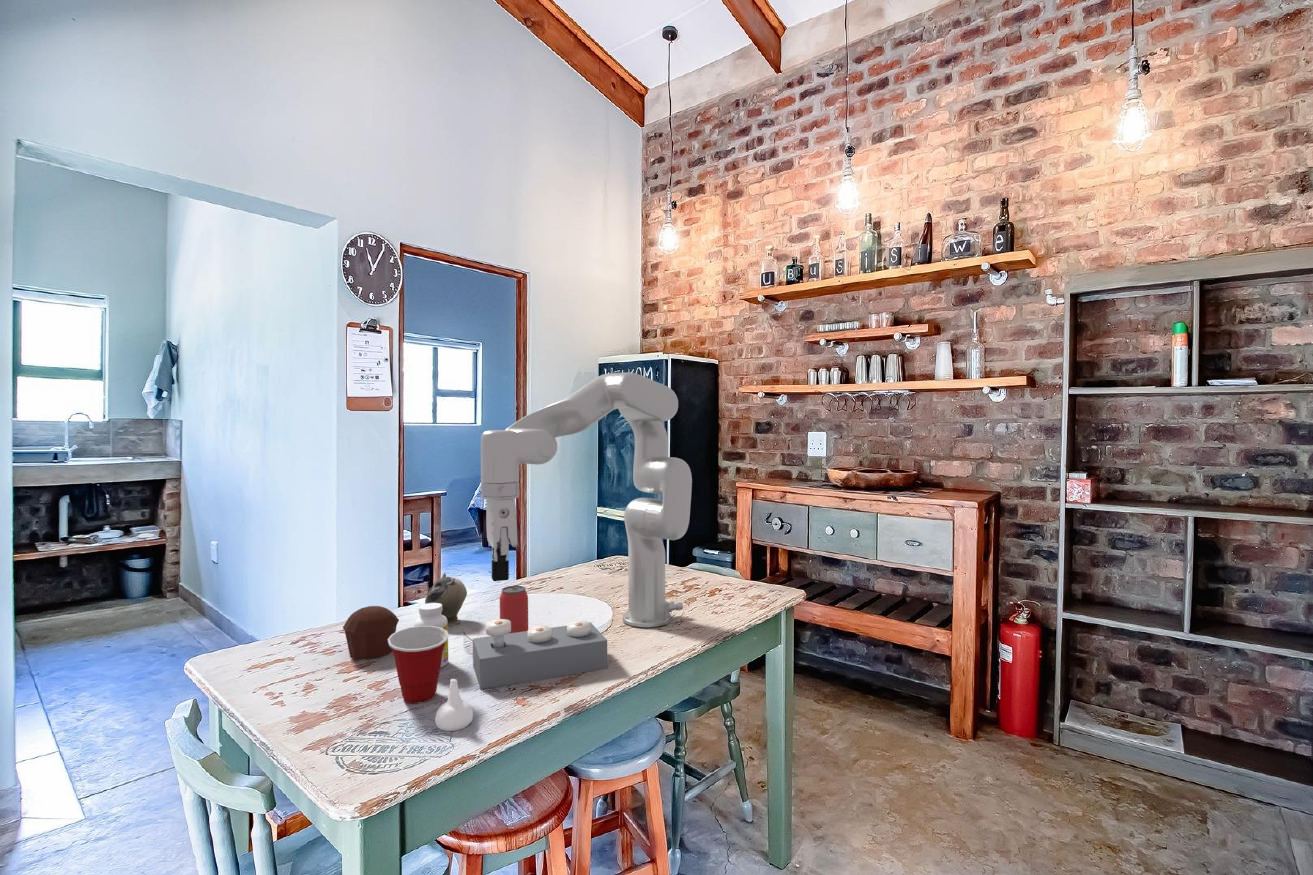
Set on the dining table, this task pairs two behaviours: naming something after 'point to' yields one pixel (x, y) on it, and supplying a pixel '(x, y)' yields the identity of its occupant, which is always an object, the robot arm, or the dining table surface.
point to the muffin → (370, 632)
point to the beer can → (515, 607)
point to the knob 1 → (498, 631)
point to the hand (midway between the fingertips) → (500, 579)
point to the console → (537, 657)
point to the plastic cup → (418, 660)
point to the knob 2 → (578, 628)
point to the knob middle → (539, 634)
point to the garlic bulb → (454, 711)
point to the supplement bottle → (434, 623)
